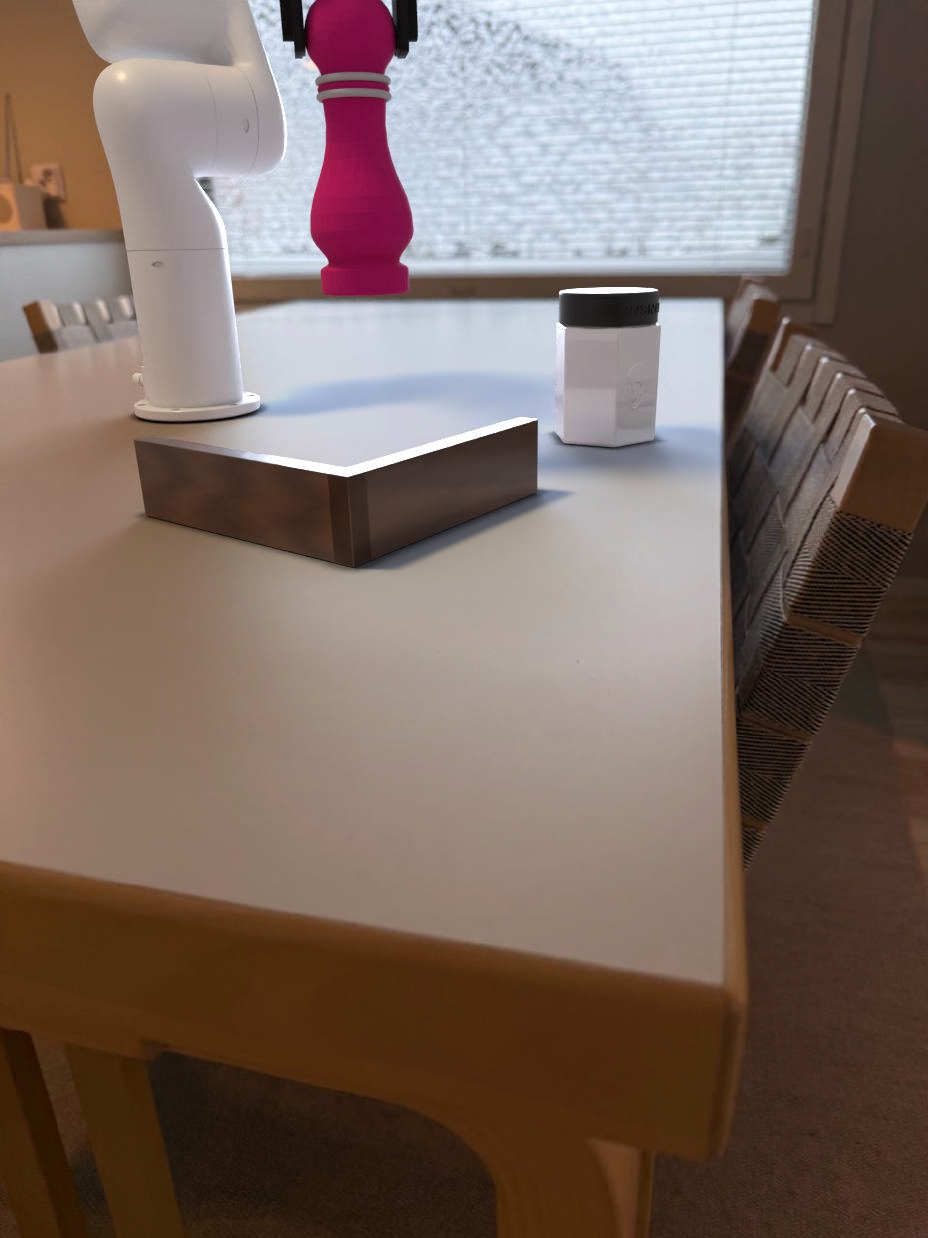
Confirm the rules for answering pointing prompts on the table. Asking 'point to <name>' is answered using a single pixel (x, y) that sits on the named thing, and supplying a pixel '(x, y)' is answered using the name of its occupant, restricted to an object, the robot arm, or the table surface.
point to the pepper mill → (357, 151)
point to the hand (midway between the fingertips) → (351, 51)
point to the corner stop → (339, 491)
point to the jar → (607, 366)
